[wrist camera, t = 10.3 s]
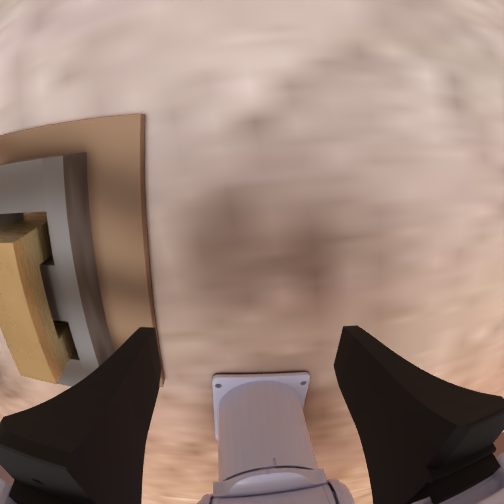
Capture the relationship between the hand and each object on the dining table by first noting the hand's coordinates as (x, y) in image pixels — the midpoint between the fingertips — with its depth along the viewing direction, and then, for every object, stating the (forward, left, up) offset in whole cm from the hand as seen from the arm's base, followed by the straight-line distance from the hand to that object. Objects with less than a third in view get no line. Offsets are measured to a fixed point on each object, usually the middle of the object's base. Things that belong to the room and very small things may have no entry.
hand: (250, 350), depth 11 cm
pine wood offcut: (-1, +13, -8) cm, 15 cm away
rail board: (-1, +13, -9) cm, 16 cm away
